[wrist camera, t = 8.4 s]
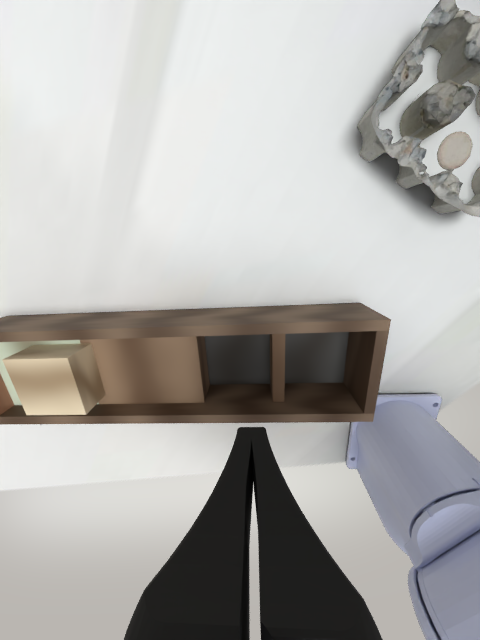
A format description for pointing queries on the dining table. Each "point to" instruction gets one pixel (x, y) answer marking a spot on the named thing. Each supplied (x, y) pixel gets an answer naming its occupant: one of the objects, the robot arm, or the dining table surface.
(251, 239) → the dining table surface
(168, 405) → the brown wooden long box
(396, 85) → the egg carton
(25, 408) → the beech block
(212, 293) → the dining table surface
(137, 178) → the dining table surface
